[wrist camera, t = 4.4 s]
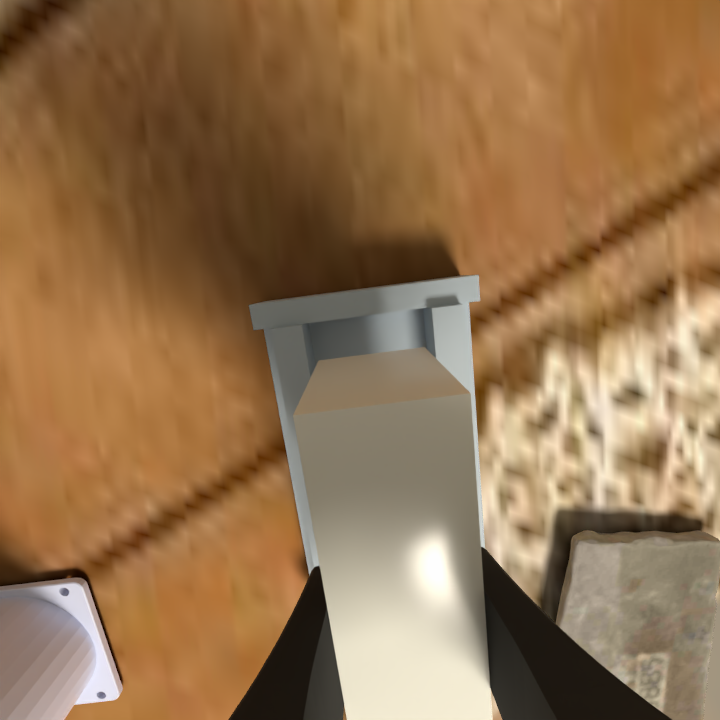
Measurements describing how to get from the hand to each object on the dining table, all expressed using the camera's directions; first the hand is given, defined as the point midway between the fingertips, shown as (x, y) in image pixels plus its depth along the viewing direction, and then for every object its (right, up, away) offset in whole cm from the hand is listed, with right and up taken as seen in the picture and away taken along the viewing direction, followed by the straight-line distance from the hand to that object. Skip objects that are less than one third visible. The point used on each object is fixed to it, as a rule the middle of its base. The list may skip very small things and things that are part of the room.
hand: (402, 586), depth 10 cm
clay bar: (0, +1, +3) cm, 3 cm away
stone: (+14, -11, +12) cm, 21 cm away
